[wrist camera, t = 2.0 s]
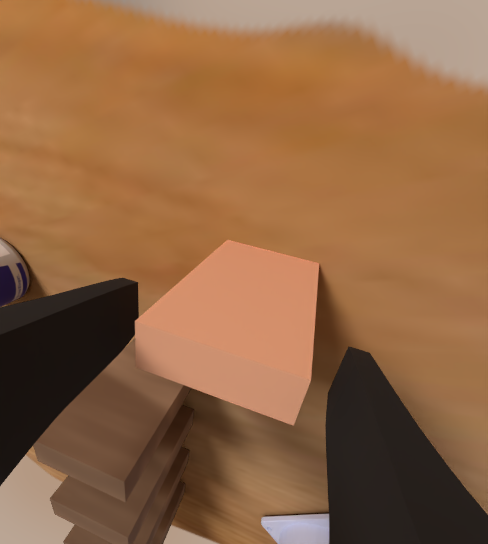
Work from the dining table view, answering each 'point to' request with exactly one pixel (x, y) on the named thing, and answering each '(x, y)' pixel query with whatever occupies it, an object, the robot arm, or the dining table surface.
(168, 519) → the walnut domino
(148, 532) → the walnut domino
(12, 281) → the energy drink
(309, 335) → the terracotta domino
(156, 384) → the walnut domino
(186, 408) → the walnut domino
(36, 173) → the dining table surface
